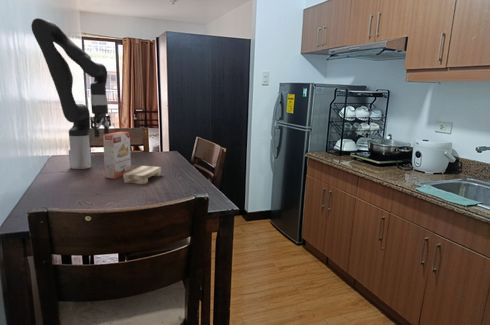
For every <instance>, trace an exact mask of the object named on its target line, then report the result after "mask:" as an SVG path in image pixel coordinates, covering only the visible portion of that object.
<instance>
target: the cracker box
mask: <svg viewBox="0 0 490 325" xmlns="http://www.w3.org/2000/svg"><path fill="white" fill-rule="evenodd" d="M102 141H103V161H104V162H103V163H104V164H103V165H104V178H105V179H112V180H113V179H114V180H116V179H118V178H121V177H123V174H125V173H127V172H129V171H131V170H132V169H131V168H132V166H131V164H132V163H131V160H132V159H131V133H130V132H129V131H117V132H116V131H115V132H111V133H110V132H109V134H103V135H102Z"/></svg>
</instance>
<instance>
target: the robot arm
mask: <svg viewBox="0 0 490 325" xmlns="http://www.w3.org/2000/svg"><path fill="white" fill-rule="evenodd" d="M30 26H31V31H32V32H31V33H32V34H33V36H34V38H35V40H36V42H37V44H38V46H39V48H40V51H41V52H42V55H43V58H44V60H45V63H46V65H47V68H48V71H49V74H50V77H51V79H52V81H53V84H54V86H55V89H56V90H55V91H56V93H57V95H58V98H59V103H60V106H61V110H62V114H63V116H64V118H65V119H66V120H67V122H69V123H72V124H73V125H72V126H71V128H70V129H69V130H68V139H69V140H68V141H69V149H68V160H69V161H68V163H69V169H74V170H84V169H85V170H86V169H91V167H92V162H91V161H92V160H91V150H90V129H93V130H94V131H93V132H94V133H93V134H94V137H95V138H100V134H101V133H100V130H99V129H100V127H101V126H103V132H104V134H110V131H109V130H110V127H112V123H111V122H112V121H111V115H110V114H109V105H108V104H109V103H108V97H107V89H106V86H107V80H108V71H107V67H106V66H105V65H104V64H103V63H98V62H94V60H92V58H91V56H90V55H89V53H87V52H85V50H84V49H82V48H81V47H79V46H78V45H77V44H76V43H75V42H74V41H73V40H71V39H70V38H69V37H68V35H66V34H65V33H64V31H63V30H62V29H61V28H60V27H59V26H58V25H57V24H56V23H55V22H53V21H51V20H48V19H44V18H38V17H36V18H34V19H33V20H32V22H31V25H30ZM55 44H56V45H58V46H60V47H61V49H62V50H63V51H64V53H65V54H66V55H67V57H68V58H69V59H70V60H72V61H73V62H74V63H75V64H77V65H78V66H79V67H80V68H81V70H82V71H83V73H85V74H86V75H87V76H89V77H91V78H94V79H93V82H92V83H91V84H90V86H89V87H90V104H91V105H90V106H91V113H92V114H93V115H92V116H90V110H89V108H88V106H87V105H86V104H84V103H77V102H76V100H75V98H74V95H73V85H74V84H73V83H74V77H73V73H72V71H71V68H70V66H69V63H68V62H67V60H66V59H65V57H63V55H62V54H61V53H60V51H59V49H57V47H56V46H55ZM104 134H103V135H104Z"/></svg>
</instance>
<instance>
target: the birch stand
mask: <svg viewBox="0 0 490 325" xmlns="http://www.w3.org/2000/svg"><path fill="white" fill-rule="evenodd" d="M161 175H162V167H161V166H152V165H140V166H138V167H136V168H134V169H131V171H129V172H127V173H125V174H123V176H122V178H123V182H124V183H125V184H126V183H127V184H129V183H131V184H138V185H146V184H147V183H149V181H148V180H149V178H151V177H160V176H161Z"/></svg>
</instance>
